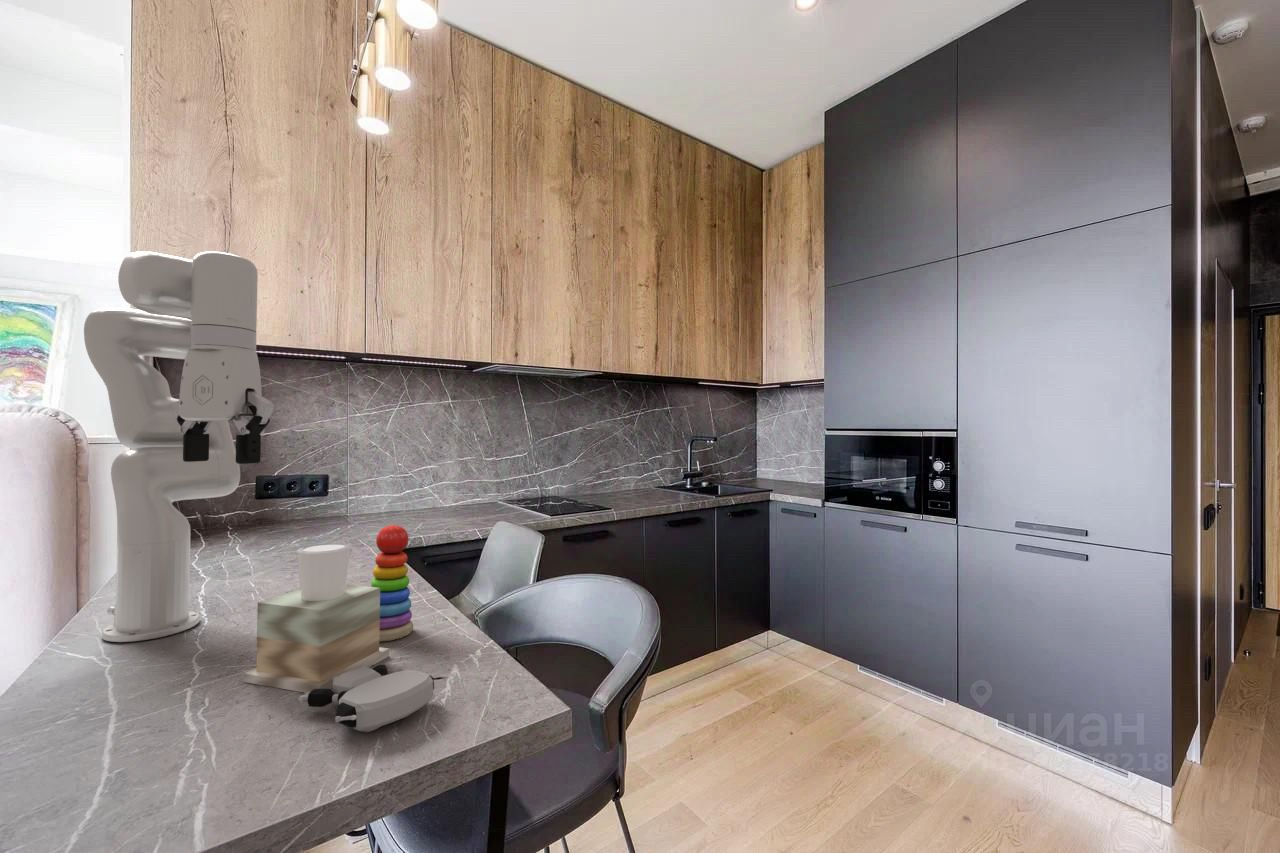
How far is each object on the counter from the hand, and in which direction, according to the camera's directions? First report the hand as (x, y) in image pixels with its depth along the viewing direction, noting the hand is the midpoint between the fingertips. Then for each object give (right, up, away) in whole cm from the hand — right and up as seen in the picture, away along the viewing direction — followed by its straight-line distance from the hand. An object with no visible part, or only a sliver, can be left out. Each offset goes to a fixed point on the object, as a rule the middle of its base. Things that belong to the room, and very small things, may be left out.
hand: (221, 462), depth 78 cm
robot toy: (+26, -31, -9) cm, 42 cm away
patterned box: (+13, -31, +2) cm, 33 cm away
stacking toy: (+16, -31, +16) cm, 38 cm away
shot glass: (+13, -20, +2) cm, 24 cm away
